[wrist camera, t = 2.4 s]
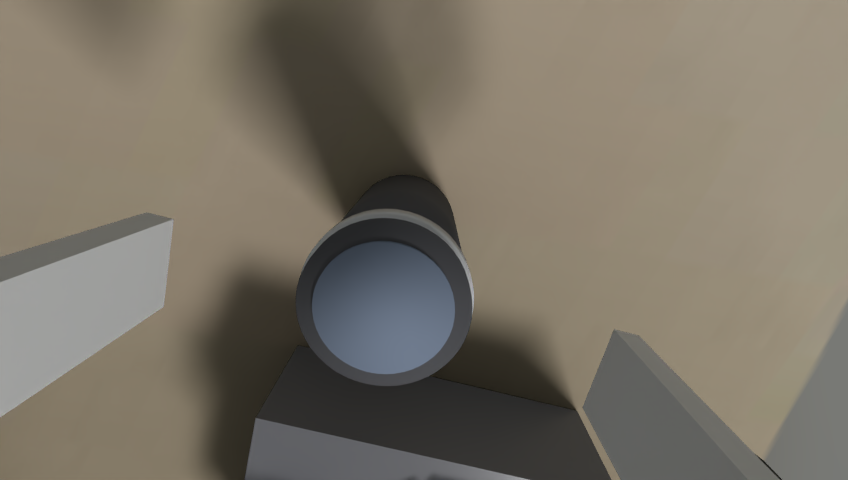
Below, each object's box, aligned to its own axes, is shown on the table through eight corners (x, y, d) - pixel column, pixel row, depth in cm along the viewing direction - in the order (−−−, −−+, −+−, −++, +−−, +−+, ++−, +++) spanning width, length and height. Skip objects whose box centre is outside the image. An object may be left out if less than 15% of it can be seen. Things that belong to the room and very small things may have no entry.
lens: (364, 161, 21) (308, 198, 11) (468, 188, 22) (500, 247, 12) (343, 260, 23) (276, 369, 13) (440, 284, 23) (448, 409, 13)
